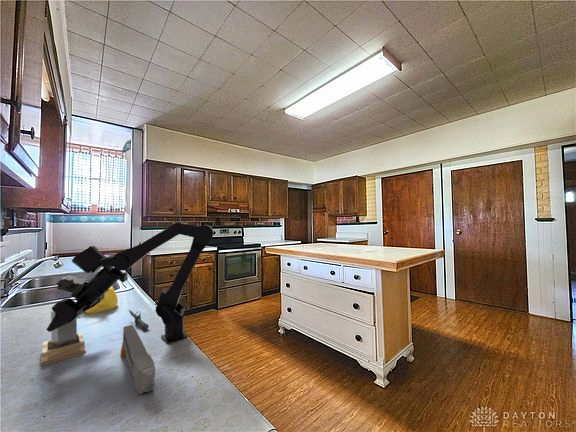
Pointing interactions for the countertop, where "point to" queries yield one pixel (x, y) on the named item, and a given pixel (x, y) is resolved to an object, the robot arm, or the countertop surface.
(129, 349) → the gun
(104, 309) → the teapot
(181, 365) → the countertop surface
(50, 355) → the dock
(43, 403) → the countertop surface
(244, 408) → the countertop surface
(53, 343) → the post
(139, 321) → the knife
